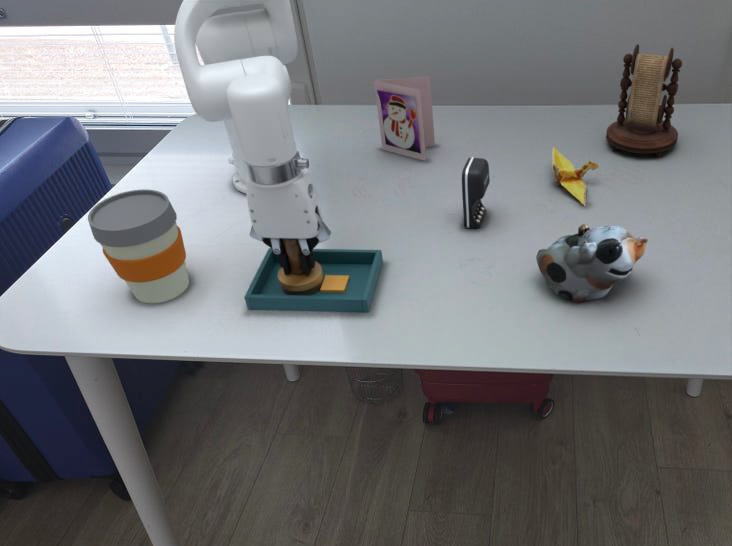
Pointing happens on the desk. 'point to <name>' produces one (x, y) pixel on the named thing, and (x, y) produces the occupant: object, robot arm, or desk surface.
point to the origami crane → (571, 175)
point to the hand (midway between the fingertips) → (299, 269)
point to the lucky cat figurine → (590, 261)
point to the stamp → (299, 272)
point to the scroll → (646, 105)
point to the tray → (346, 262)
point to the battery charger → (474, 191)
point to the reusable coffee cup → (142, 243)
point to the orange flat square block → (334, 284)
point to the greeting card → (405, 115)
